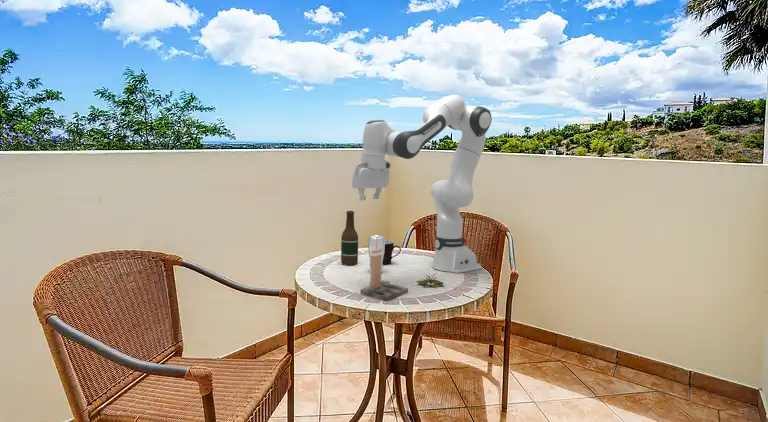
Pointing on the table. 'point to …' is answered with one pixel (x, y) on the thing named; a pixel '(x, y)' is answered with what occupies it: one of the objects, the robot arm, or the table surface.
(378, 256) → the terracotta paddle
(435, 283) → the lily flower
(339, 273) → the table surface
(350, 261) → the beer bottle
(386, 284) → the grey fader knob
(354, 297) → the table surface
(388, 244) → the coffee mug
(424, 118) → the robot arm
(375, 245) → the beer glass
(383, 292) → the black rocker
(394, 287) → the walnut control box
